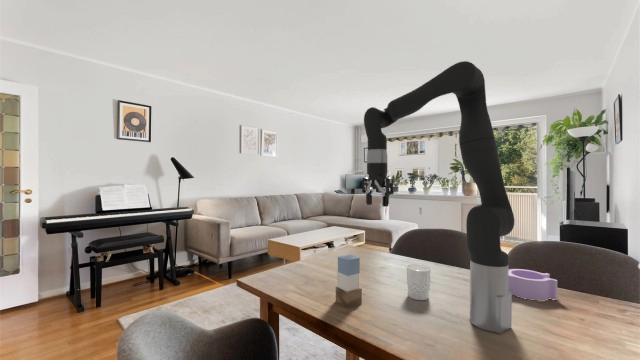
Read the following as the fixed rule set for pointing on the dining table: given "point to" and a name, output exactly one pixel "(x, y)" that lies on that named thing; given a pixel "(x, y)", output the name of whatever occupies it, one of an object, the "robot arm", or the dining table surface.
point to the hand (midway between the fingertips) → (376, 205)
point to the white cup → (418, 281)
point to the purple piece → (531, 284)
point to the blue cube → (348, 265)
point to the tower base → (349, 297)
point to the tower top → (347, 282)
